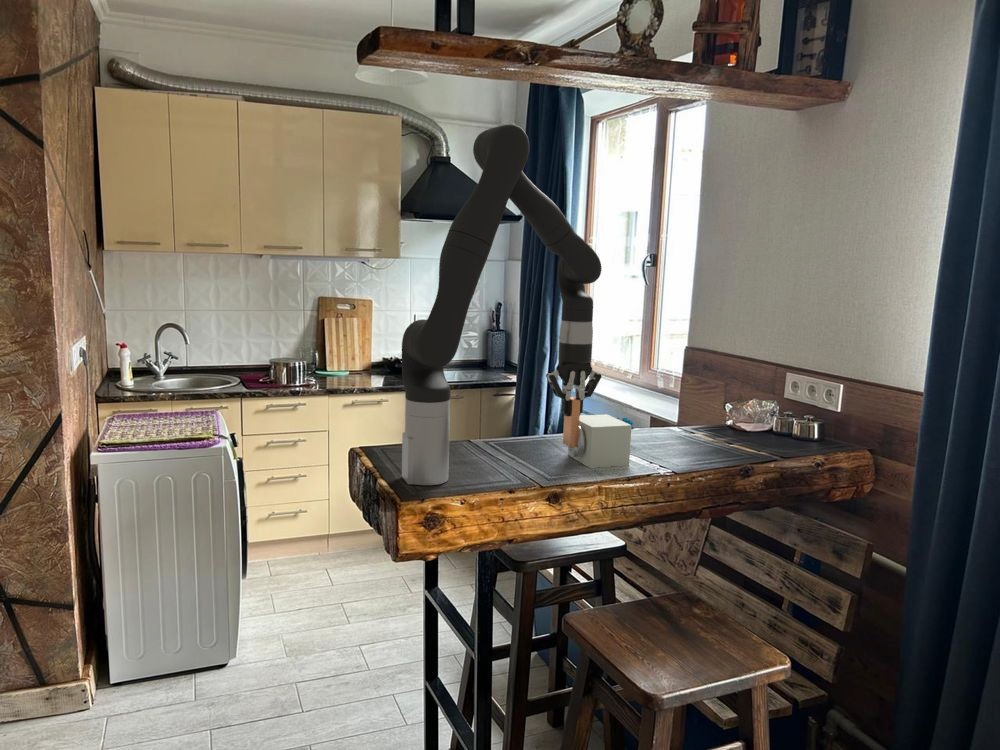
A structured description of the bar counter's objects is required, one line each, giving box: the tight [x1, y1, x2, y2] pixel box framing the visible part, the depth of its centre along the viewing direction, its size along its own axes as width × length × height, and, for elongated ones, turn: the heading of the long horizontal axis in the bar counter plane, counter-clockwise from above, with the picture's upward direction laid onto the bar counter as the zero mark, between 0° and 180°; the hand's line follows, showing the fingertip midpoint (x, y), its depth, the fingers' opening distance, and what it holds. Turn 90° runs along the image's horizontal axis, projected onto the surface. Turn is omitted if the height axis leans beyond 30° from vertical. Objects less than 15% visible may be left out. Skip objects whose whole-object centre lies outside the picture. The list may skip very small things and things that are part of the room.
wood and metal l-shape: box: [562, 396, 586, 457], centre depth 172 cm, size 9×8×14 cm
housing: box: [567, 413, 633, 469], centre depth 174 cm, size 10×12×10 cm
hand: (571, 415), depth 171 cm, fingers closed on wood and metal l-shape, 2 cm apart
